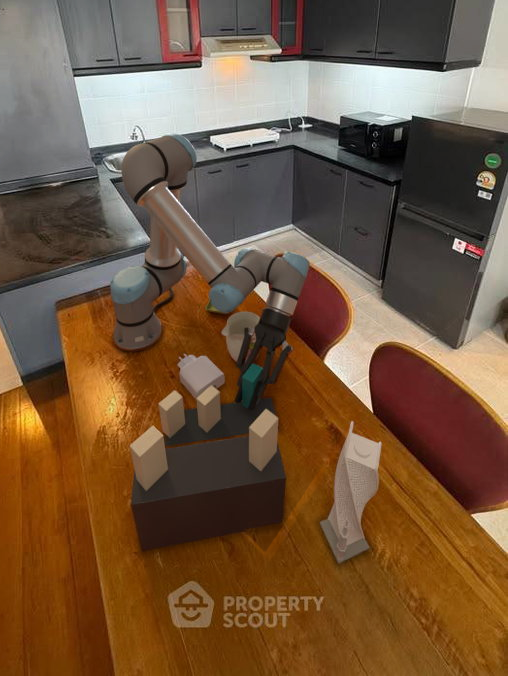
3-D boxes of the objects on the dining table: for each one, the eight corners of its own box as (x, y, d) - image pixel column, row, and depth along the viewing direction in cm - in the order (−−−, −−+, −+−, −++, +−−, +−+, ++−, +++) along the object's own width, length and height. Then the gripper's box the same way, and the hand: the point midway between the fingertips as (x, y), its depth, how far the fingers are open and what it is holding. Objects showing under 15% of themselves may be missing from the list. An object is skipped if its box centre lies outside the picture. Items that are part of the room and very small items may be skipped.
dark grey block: (163, 414, 99) (159, 385, 94) (271, 399, 103) (272, 371, 99) (162, 448, 91) (157, 419, 86) (279, 430, 95) (280, 401, 91)
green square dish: (235, 301, 140) (235, 297, 139) (228, 317, 132) (228, 313, 131) (212, 298, 142) (212, 293, 141) (205, 313, 134) (204, 309, 133)
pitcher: (280, 351, 119) (282, 316, 113) (234, 381, 108) (234, 345, 102) (257, 331, 126) (258, 298, 120) (212, 358, 116) (211, 323, 110)
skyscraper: (316, 515, 79) (329, 427, 66) (349, 500, 81) (367, 413, 69) (338, 564, 72) (357, 475, 59) (374, 546, 74) (399, 457, 62)
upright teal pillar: (241, 405, 94) (242, 377, 90) (252, 390, 98) (252, 362, 94) (252, 411, 93) (252, 382, 89) (262, 395, 97) (263, 367, 93)
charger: (194, 353, 118) (224, 384, 107) (168, 369, 112) (198, 403, 102) (194, 342, 116) (224, 372, 105) (167, 358, 110) (197, 391, 100)
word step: (145, 499, 81) (128, 419, 70) (272, 477, 85) (276, 398, 74) (141, 551, 73) (122, 470, 62) (282, 524, 77) (288, 443, 66)
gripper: (310, 325, 97) (278, 420, 91) (255, 303, 104) (222, 389, 98) (304, 321, 90) (269, 423, 85) (245, 298, 98) (210, 391, 92)
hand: (244, 405), depth 92 cm, fingers closed on upright teal pillar, 3 cm apart
